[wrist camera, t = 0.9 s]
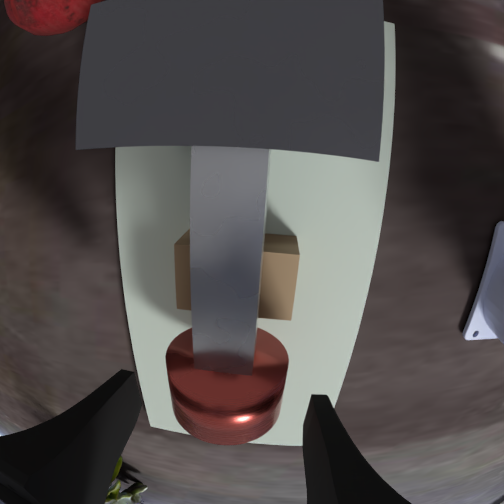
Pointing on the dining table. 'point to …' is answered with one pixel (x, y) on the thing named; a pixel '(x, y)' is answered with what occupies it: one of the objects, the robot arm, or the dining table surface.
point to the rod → (227, 305)
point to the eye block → (234, 75)
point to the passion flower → (129, 498)
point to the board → (277, 222)
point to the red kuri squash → (48, 15)
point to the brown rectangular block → (272, 282)
